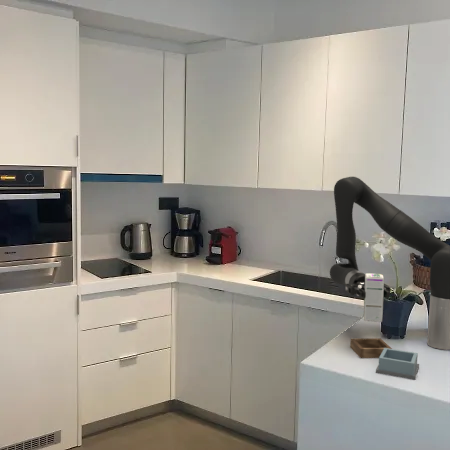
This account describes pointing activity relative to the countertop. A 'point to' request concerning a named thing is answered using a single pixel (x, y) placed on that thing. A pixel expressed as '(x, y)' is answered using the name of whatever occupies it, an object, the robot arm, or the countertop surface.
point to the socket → (398, 363)
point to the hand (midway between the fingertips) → (376, 295)
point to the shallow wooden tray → (368, 347)
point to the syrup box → (373, 297)
